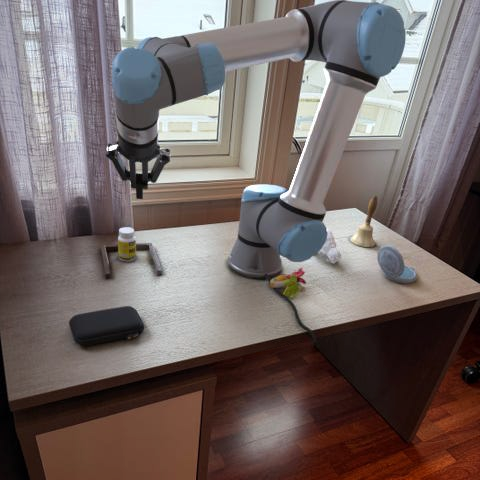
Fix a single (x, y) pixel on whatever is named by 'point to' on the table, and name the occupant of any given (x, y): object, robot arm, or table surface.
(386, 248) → the pocket watch
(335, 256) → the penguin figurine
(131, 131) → the robot arm
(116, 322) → the carrying case
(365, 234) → the hand bell
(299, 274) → the bird rattle
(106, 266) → the bay
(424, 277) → the table surface
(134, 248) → the supplement bottle
